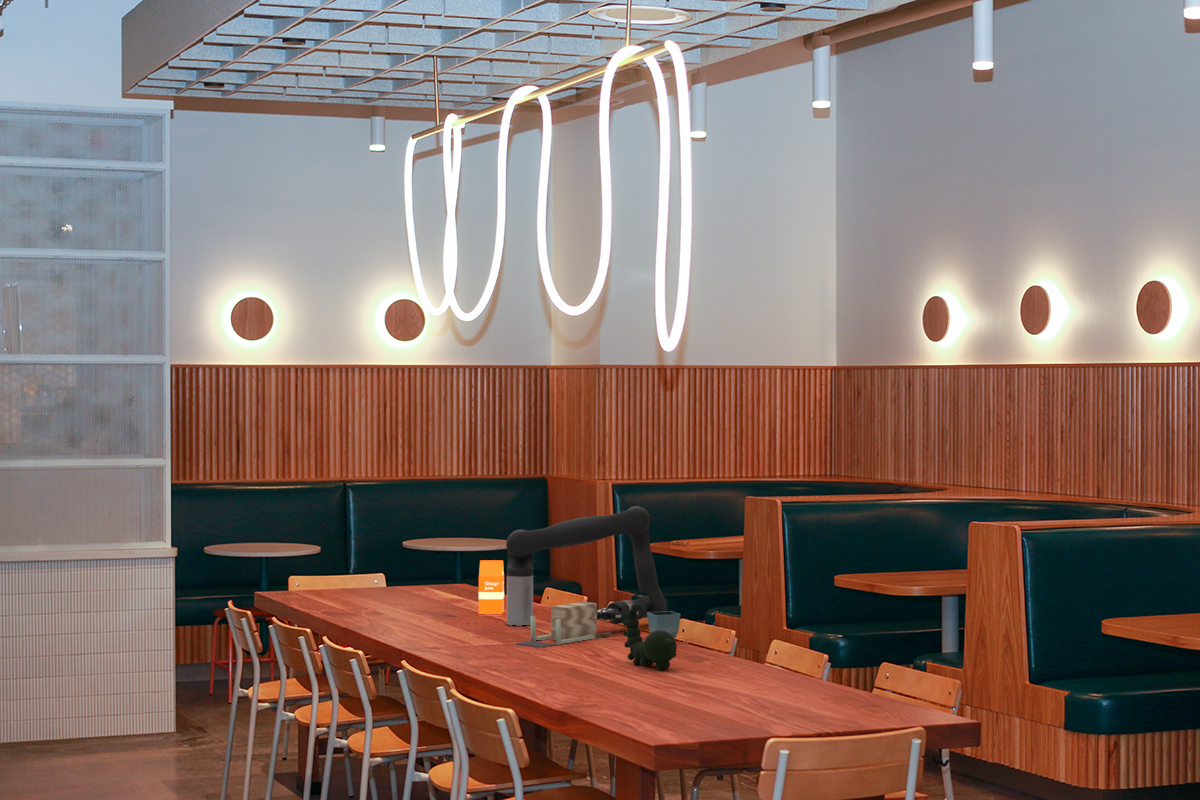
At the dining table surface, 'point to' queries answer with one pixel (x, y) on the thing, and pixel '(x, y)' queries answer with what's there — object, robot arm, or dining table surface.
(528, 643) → the pit mat
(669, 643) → the toy figurine
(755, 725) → the dining table surface
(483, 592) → the orange juice
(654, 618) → the flower pot
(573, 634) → the beech block
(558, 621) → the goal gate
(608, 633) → the lane
